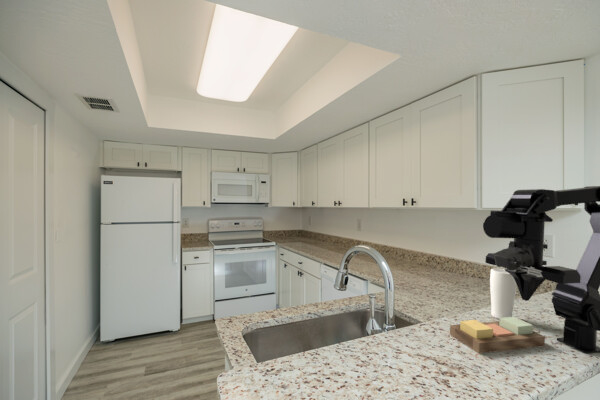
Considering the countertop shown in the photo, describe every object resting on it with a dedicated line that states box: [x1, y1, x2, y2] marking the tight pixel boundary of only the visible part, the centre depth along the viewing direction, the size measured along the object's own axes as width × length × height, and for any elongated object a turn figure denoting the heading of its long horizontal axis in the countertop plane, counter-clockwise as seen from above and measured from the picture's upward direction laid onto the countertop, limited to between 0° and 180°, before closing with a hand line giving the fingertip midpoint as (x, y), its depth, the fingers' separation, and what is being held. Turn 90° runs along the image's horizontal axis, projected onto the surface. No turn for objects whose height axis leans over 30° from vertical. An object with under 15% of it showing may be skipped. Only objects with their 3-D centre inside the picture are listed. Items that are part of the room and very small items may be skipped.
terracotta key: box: [487, 324, 513, 337], centre depth 70 cm, size 5×5×3 cm
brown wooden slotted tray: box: [449, 320, 546, 354], centre depth 70 cm, size 21×9×2 cm, turn 103°
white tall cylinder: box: [489, 267, 518, 320], centre depth 84 cm, size 7×7×15 cm
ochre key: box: [460, 319, 493, 339], centre depth 69 cm, size 5×5×3 cm
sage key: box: [498, 316, 534, 335], centre depth 72 cm, size 5×5×3 cm
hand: (525, 300), depth 67 cm, fingers closed
